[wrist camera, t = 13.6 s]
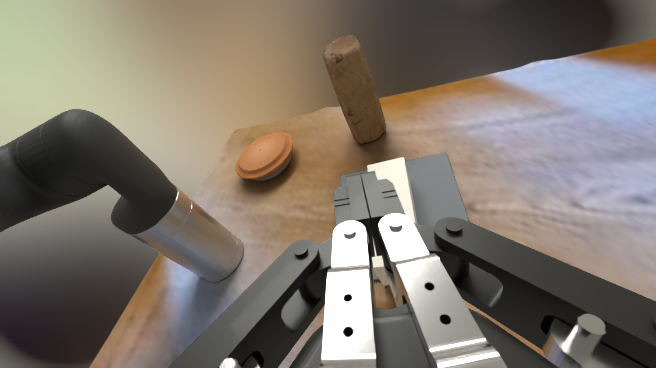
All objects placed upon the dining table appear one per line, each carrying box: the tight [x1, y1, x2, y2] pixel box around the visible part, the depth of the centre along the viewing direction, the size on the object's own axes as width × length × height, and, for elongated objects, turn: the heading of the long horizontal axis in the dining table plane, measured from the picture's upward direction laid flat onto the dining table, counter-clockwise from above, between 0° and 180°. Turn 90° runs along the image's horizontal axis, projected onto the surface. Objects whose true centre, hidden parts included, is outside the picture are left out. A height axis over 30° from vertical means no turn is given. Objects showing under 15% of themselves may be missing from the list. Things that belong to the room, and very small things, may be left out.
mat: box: [341, 152, 471, 280], centre depth 45 cm, size 20×22×1 cm
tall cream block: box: [367, 157, 418, 286], centre depth 41 cm, size 6×6×18 cm
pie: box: [236, 132, 293, 181], centre depth 67 cm, size 16×16×5 cm
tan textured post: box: [323, 35, 386, 144], centre depth 56 cm, size 11×8×20 cm
